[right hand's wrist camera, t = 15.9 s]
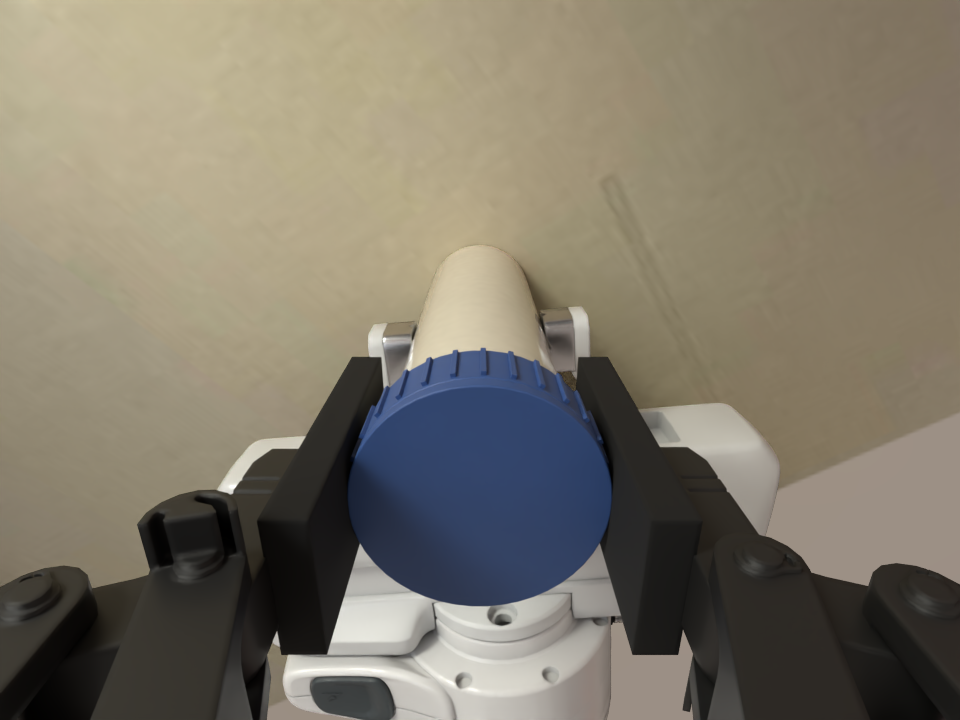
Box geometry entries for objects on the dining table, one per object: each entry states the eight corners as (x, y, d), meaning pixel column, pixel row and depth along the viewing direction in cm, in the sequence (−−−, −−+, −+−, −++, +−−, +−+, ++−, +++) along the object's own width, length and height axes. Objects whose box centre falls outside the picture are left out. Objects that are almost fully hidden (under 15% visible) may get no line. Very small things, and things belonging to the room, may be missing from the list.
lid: (331, 370, 11) (306, 409, 10) (583, 324, 11) (601, 357, 9) (393, 566, 13) (381, 626, 12) (609, 532, 13) (629, 590, 11)
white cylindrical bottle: (421, 255, 24) (342, 414, 10) (519, 236, 24) (575, 373, 10) (442, 346, 26) (399, 592, 12) (534, 329, 26) (602, 562, 12)
